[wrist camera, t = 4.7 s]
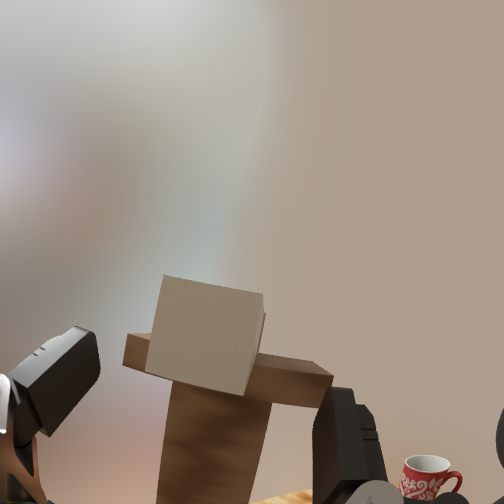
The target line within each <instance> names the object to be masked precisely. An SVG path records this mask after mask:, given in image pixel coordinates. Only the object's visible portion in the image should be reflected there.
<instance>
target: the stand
mask: <svg viewBox="0 0 504 504" xmlns="http://www.w3.org/2000/svg"><path fill="white" fill-rule="evenodd" d="M150 338H151V334H128V335H127V341H126V347H125V353H124V358H123V366H126V367H129V368H132V369H135V370H138V371H142V372H144V373H147V374H151V375H154V376H157V377H161V378H164V379H168V380H172V381H173V384H172V389H171V395H170V402H169V408H168V414H167V421H166V427H165V435H164V441H163V449H162V456H161V464H160V472H159V481H158V489H157V499H156V504H248V502H249V499H250V495H251V491H252V487H253V483H254V479H255V475H256V471H257V467H258V463H259V459H260V455H261V451H262V447H263V442H264V438H265V434H266V430H267V425H268V420H269V416H270V412H271V407H272V402H273V403H279V404H286V405H294V406H302V407H310V408H320V405H321V403H322V400H323V398H324V395H325V392H326V390H327V388H328V387H329V386H330V387H332V382H333V377H334V376H333V375H332V374H330V373H329V372H327V371H326V370H324V369H323V368H321V367H320V366H318V365H317V364H315V363H314V362H312V361H307V360H300V359H293V358H286V357H280V356H274V355H268V354H262V353H258V355H256V358H255V361H254V364H253V367H252V370H251V373H250V377H249V380H248V383H247V386H246V389H245V392H244V395H243V396H241V395H236V394H231V393H226V392H222V391H217V390H213V389H208V388H204V387H200V386H196V385H192V384H188V383H184V382H180V381H177V380H173V379H169V378H166V377H162V376H159V375H156V374H152V373H149V372H146V371H145V367H146V361H147V355H148V349H149V344H150Z"/></svg>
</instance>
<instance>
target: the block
mask: <svg viewBox="0 0 504 504" xmlns="http://www.w3.org/2000/svg"><path fill="white" fill-rule="evenodd" d="M263 309H264V308H263V294H259V293H254V292H248V291H243V290H237V289H232V288H227V287H222V286H216V285H211V284H206V283H201V282H196V281H191V280H186V279H180V278H176V277H171V276H166V275H164V276H163V281H162V285H161V289H160V294H159V299H158V303H157V308H156V313H155V318H154V323H153V328H152V333H151V338H150V344H149V349H148V355H147V361H146V367H145V371H146V372H149V373H152V374H156V375H159V376H162V377H166V378H169V379H173V380H177V381H180V382H184V383H188V384H192V385H196V386H200V387H204V388H208V389H213V390H217V391H222V392H226V393H231V394H236V395H241V396H243V395H244V392H245V389H246V386H247V383H248V380H249V377H250V373H251V370H252V367H253V364H254V361H255V358H256V355H258V352H259V347H260V342H261V337H262V331H263V326H264V321H265V314H266V313H264V310H263Z"/></svg>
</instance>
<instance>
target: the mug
mask: <svg viewBox="0 0 504 504" xmlns="http://www.w3.org/2000/svg"><path fill="white" fill-rule="evenodd" d="M450 466H451V464H450V462H449V461H448V460H446V459H444V458H441V457H438V456H432V455H416V456H411V457H409V458H407V459H406V460H405V466H404V470H403V474H402V476H401V480H400V483H399V486H398V489H399V490H400V492H401V494H402V496H405V497H408V498H413V499H419V500H426V501H433V500H434V499H435V497H436V495H437V493H438V491H439V489H440V486H441V485H443V484H444V483H445V482H446V481H447V480H448V479H449V478H451V477H457V478H458V482H457V485H456V487H455V488H454V489H453V490H452V492H455V493H457V491H458V490H459V488H460V486H461V484H462V476H461V474H460V473H459V472H457V471H452V472H448V473H447V471H448V470H449V468H450Z"/></svg>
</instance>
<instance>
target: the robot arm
mask: <svg viewBox="0 0 504 504" xmlns="http://www.w3.org/2000/svg"><path fill="white" fill-rule="evenodd" d="M100 368H101V367H100V360H99V354H98V347H97V341H96V336H95V334H94V333H93V332H91V331H88V330H86V329H83V328H80V327H78V326H74V327H72V328H71V329H70V330H68V331H67V332H66V333H65V334H64V335H59V336H57V337H54V338H52V339H49V340H48V341H47V342H46V343H44V344H43V345H42V346H41V347H40V349H39V348H38V349H37V350H36V351H35V352H33V355H32V354H31V355H30V356H29V357H27V358H26V359H25V360H24V361H23V362H21V363H20V364H19V365H18V366H17V367H15V368H14V369H13V370H12V371H11V372H10V373H8V374H7V375H6V376H5V375H3V374H0V504H55V503H53V502H51V501H50V500H48V501H47V499H46V496H45V494H44V491H43V489H42V487H41V484H40V478H39V469H38V457H37V440H36V437H35V434H36V433H37V432H38V431H40V432H41V433H43V434H45V435H46V436H48V437H50V436H51V435H52V434H53V433H54V432H55V430H56V429H57V428H58V427H59V425H60V424H61V423H62V422H63V420H64V419H65V418H66V417H67V416H68V414H69V413H70V412H71V411H72V410H73V408H74V407H75V406H76V405H77V404H78V402H79V401H80V400H81V399H82V398H83V397H84V395H85V394H86V393H87V392H88V391H89V389H90V388H91V387H92V386H93V385H94V384H95V382H96V381H97V379H98V377H99V375H100ZM378 439H379V438H378V434H377V431H376V425H375V421H374V417H373V415H372V414H371V413H370V411H369V410H368V409H367V407H366V406H365V405H358V404H356V403H355V398H354V393H353V390H352V389H351V388H341V387H330V386H329V387H328V388H327V390H326V392H325V395H324V398H323V400H322V403H321V405H320V408H319V410H318V412H317V415H316V417H315V420H314V424H313V431H312V448H313V504H469V503H468V501H467V500H466V499H465V497H463V496H462V495H460V494H458V493H455V492H446V493H443V494H441V495H439V496H437V497H436V498H435V499H434V500H433V501H426V500H419V499H413V498H408V497H405V496H402V494H401V492H400V490H399V489H398V488H397V487H396V486H394V485H393V484H391V483H389V482H388V479H387V474H386V470H385V465H384V460H383V455H382V451H381V447H380V443H379V441H378ZM496 449H497V454H498V458H499V460H500V462H501V464H502V467H503V468H504V409H503V411H502V414H501V416H500V419H499V422H498V426H497V432H496ZM493 504H504V496H503V497H502V498H500V499H499V500H497V501H496V502H495V503H493Z"/></svg>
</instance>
